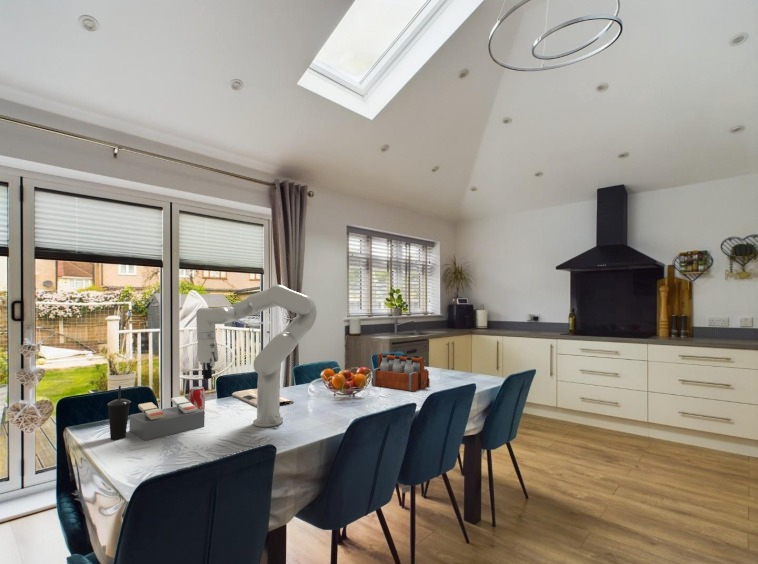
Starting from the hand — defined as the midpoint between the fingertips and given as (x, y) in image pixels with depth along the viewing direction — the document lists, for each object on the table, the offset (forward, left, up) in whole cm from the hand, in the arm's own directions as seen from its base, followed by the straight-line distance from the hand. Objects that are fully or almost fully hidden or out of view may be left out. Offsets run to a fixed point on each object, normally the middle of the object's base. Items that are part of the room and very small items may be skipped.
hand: (207, 378), depth 175 cm
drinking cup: (+8, +31, -20) cm, 38 cm away
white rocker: (+6, +7, -11) cm, 14 cm away
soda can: (+20, -5, -20) cm, 28 cm away
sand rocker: (+6, +20, -11) cm, 24 cm away
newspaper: (+19, -41, -20) cm, 49 cm away
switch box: (+8, +14, -20) cm, 25 cm away
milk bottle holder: (-14, -118, -20) cm, 121 cm away
